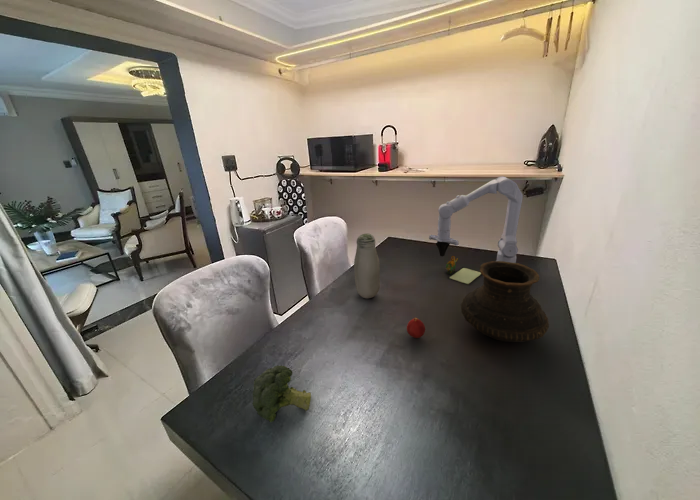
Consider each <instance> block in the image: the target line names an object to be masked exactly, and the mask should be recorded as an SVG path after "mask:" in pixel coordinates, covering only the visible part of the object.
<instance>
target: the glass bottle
mask: <svg viewBox="0 0 700 500" xmlns="http://www.w3.org/2000/svg"><path fill="white" fill-rule="evenodd" d="M380 265H381V264H380V259H379V256H378V252H377V247H376V238H375V236H374V235H373V234H372V233H362V234H360V235H359V236H358V237H357V238H356V248H355V255H354V259H353V269H354V281H355V289H356V292H357V295H359V296H360V297H361V298H363V299H372V298H374V297H376V296H377V295H378V293H379V291H380V287H381V277H380V272H381V271H380V269H381V268H380V267H381V266H380Z"/></svg>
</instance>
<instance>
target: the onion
mask: <svg viewBox="0 0 700 500" xmlns="http://www.w3.org/2000/svg"><path fill="white" fill-rule="evenodd" d="M425 332H426V326H425V323H424V322H423V321H422V320H421V319H419V318H418V317H414V318H412V319H410V320H409V321H408V323H407V324H406V333H408V335H409V336H410V337H412V338H414V339H420V338H422V337H423V336H424V335H425Z"/></svg>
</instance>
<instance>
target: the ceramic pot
mask: <svg viewBox="0 0 700 500" xmlns="http://www.w3.org/2000/svg"><path fill="white" fill-rule="evenodd" d="M479 272H480V273H481V275H482V276H483V284H482V285H481V286H479V287H477V288H475V289H474V290H473V291H471V292H468V293H467V294H466V295H465V296H464V297H463V299H462V301H461V304H460V309H461V314H462V315H463V317H464V320H465V321H466V322H467V323H468V324H469V325H471V326H472V327H473V328H474V329H475V330H477V331H478V332H479V333H481V334H482V335H484V336H487V337H489V338H491V339H493V340H497V341H500V342H507V343H522V342H523V343H524V342H530V341H534V340H539V339H540V338H543V337H544V336H545V334H546V333H547V332H548V330H549V327H550V324H549V323H550V322H549V318H548V316H547V314H546V312H545V311H544V310H543V308H542V305H541V303H540V302H539V301H538V300H537V299H536V298H535V297H534V296H533V295H532V294H531V289H532V286H533V284H536V283H538V282H539V281H540V275H539V274H538V272H537V271H536V270H535V269H533V268H532V267H530V266H527V265H524V264H521V263H518V262H516V263H511V262H504V261H496V260H491V261H487V262H483V263H482V264H481V265H480V266H479Z"/></svg>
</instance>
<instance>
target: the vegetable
mask: <svg viewBox="0 0 700 500" xmlns="http://www.w3.org/2000/svg"><path fill="white" fill-rule="evenodd" d="M292 376H293V370H292V369H290V367H288V366H286V365H282V364H281V365H275V366H273V367H270V368H267V369H266V370H264V371H263V372H261V374H259V375H258V376H256V378H255V379H254V381H253V389H252V399H253V400H252V402H251V403H252V406H253V409H255V411H256V414H257V415H258V416H259V417H260V418H262V419H264V420H266V421H268V422H270V423H274V421H276V420H275V419H276V416H277V412H278V411H279V410H280V409H281V408H285V407H287V406H295V407H296V408H300V409H302V410H305V412H307V411H308V410H309V409H310V406H311V401H312V393H311V391H310V392H309V391H308V392H307V391H306V390H305V389H304V390H302V391H301V390H297V388H295V387H293V386H289V383H290V382H291V381H292Z"/></svg>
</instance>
